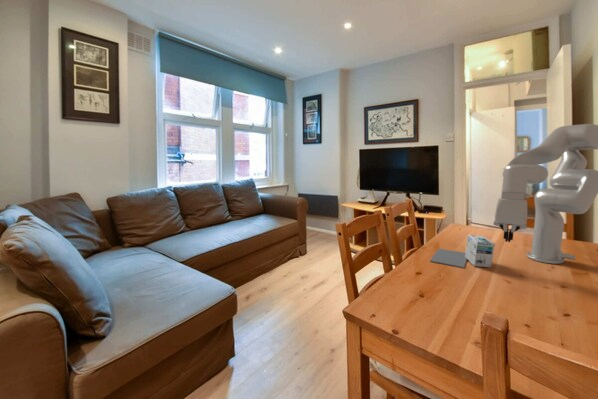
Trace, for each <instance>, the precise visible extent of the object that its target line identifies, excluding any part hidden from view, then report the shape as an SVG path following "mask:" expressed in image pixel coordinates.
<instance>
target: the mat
mask: <svg viewBox="0 0 598 399" xmlns="http://www.w3.org/2000/svg"><path fill="white" fill-rule="evenodd" d="M467 261H468V259H467V258H466V257H465V252H464V251H463V252H461V251H457V250H450V249H445V248H437V250H436V251H435V253H434V254H433V256H432V257H431V258H430V260H429V263H434V264H441V265H445V266H451V267H456V268H460V269H461V268H462V269H465V267H466V263H467Z"/></svg>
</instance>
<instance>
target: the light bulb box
mask: <svg viewBox="0 0 598 399" xmlns="http://www.w3.org/2000/svg"><path fill="white" fill-rule="evenodd" d="M495 245H496V243H495V242H493V241H492V240H490V239H489V238H487V237H485V236H484V235H475V234H467V240H466V247H465V252H464V253H465V257H466V258H467V261H469V262H470V263H471V265H473V266H474V267H482V268H483V267H484V268H492V264H493V256H494V251H495Z"/></svg>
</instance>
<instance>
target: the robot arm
mask: <svg viewBox="0 0 598 399" xmlns="http://www.w3.org/2000/svg"><path fill="white" fill-rule="evenodd" d="M585 150H590V151H591V150H598V124H595V123H594V124H593V123H591V124H590V123H584V124H582V123H581V124H573V125H571V124H570V125H564V126H560V127H557V128H555V129H554V130H552V132H551V133H550V134H549V135H547V137H546V138H545V139H544V140H543V141H541V143H540V144H539V145H538V146H536V147H533V148H531V149H529V150H526V151H525V152H522V153H520V154H518V155H516V156H514V158H512V159H511V160H510V161H509V163H507V165H506V166H504V169H503V172H502V177H503V178H502V186H501V187H502V188H501V196H500V198H498V200H497V203H496V208H495V212H494V221H493V224H492V225H494V226H496V227H500V229H502V231H503V239H504V242H508V243H511V241H513V239H514V233H515V232H517V231H519V230H526V229H527V228H528V227H527V223H528V222H527V221H528V200H527V199H530V198H531V194H528V193H527V187H528V186H527V185H528V184H530V185H533V184H534V185H536V184H541V183H543V182H544V181H545V182H546V180H547V178H548V176H549V171H548V169H547V168H546V167H545V166H543V165H544V164H548V163H551V162H555V161H557V160H559V159H560V161H559V163H558V165H557V167H556V169H555V170H554V172H553V174H552V176H551V178H550V179H549V186H550V188H549V187H548V188H541V189H540V190H538V191H537V192H535V195H534V197H533V198H534V199H533V200H534V201H533V202H534V208H535V214H534V215H535V216H534V217H535V218H534V225H533V226H534V228H533V234H532V235H533V236H532V241H531V242H532V244H531V250H530V251H528V252H526V257H527V258H528V259H531V260H533V261H536V262H540V263H545V264H554V265H557V264H558V265H559V264H564V263H565V259H567V260H573V261H574V260H576V255H574V254H570V253H564V252H563V251H562V250H561V249H562V242H563V233H564V227H565V220H564V218H563V215H562V213H566V214H573V215H583V214H586V212H587V211H588V210H589V209H590V208H591V205H593V203H594V201H595V199H596V197H597V195H598V170H597V169H590V168H589V169H588V168H586V167H587V165H588V161H587V159H586V157H585V155H583V154H582V153H581V152H580V151H585ZM509 225H510V226H511V228H510V229H508V226H509Z"/></svg>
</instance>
